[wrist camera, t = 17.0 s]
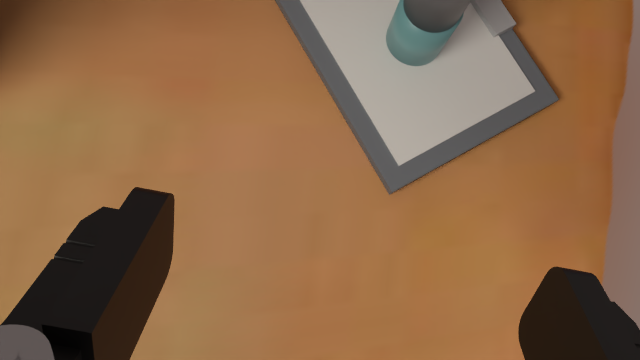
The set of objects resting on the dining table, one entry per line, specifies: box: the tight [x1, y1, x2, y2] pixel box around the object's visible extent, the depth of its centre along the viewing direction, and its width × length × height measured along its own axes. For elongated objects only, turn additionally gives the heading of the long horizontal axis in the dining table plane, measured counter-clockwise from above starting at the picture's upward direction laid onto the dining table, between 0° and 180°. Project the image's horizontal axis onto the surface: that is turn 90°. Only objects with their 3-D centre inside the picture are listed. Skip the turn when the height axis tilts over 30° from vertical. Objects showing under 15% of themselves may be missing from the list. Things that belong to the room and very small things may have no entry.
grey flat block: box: [275, 0, 559, 195], centre depth 41 cm, size 20×16×2 cm
